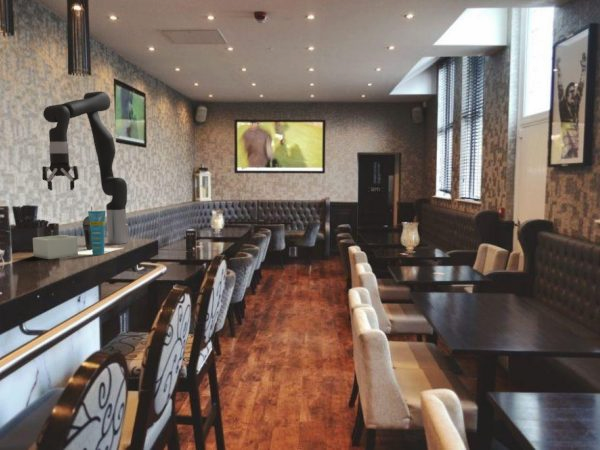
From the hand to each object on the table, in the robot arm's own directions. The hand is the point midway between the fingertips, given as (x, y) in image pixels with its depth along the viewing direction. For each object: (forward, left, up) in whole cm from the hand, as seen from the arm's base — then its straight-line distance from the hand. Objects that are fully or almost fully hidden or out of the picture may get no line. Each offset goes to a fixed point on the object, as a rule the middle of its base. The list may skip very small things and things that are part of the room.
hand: (61, 190), depth 236 cm
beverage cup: (-17, -6, -29) cm, 34 cm away
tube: (-9, +13, -29) cm, 32 cm away
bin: (+4, +1, -28) cm, 29 cm away
